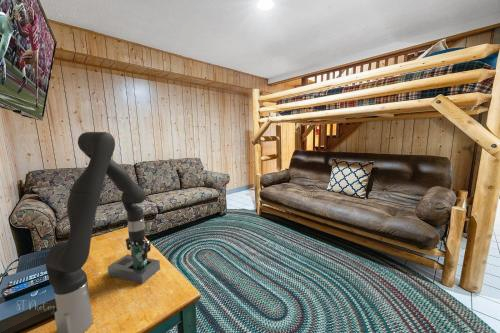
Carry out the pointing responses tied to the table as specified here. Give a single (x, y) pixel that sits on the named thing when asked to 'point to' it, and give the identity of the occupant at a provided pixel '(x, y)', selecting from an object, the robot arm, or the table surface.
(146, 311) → the table surface
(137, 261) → the can
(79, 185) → the robot arm
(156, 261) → the block with square hole
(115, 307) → the table surface
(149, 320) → the table surface
